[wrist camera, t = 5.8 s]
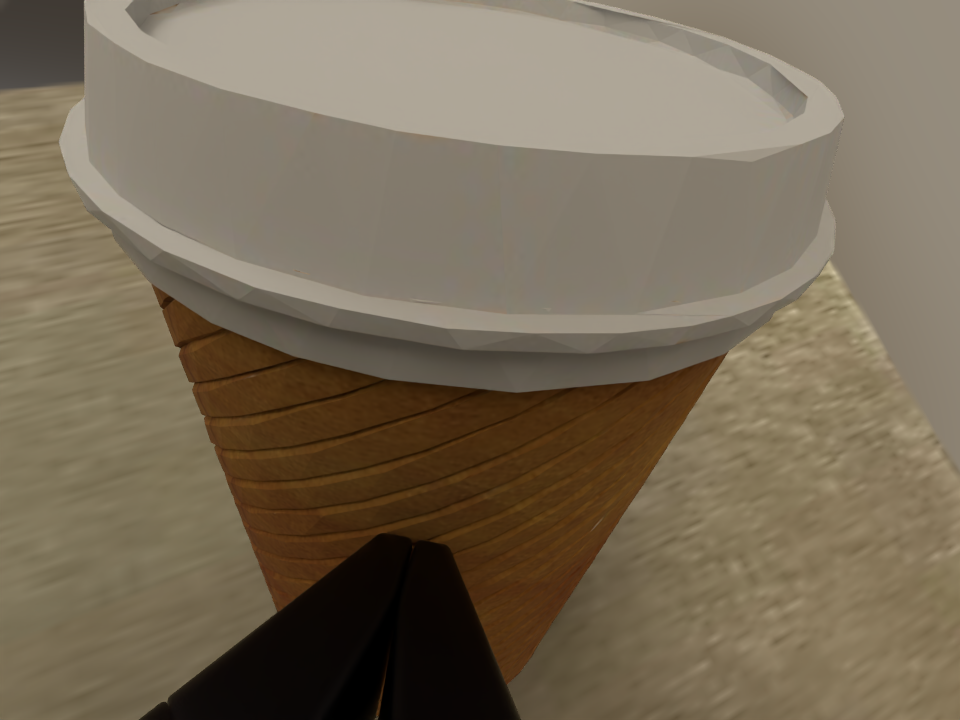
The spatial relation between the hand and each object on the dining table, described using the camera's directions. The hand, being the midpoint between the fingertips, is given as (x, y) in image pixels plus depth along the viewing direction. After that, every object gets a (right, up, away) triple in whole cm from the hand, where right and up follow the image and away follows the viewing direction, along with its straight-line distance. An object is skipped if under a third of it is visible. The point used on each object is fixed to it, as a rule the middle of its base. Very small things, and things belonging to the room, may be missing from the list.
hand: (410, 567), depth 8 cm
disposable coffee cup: (-1, -3, +7) cm, 8 cm away
